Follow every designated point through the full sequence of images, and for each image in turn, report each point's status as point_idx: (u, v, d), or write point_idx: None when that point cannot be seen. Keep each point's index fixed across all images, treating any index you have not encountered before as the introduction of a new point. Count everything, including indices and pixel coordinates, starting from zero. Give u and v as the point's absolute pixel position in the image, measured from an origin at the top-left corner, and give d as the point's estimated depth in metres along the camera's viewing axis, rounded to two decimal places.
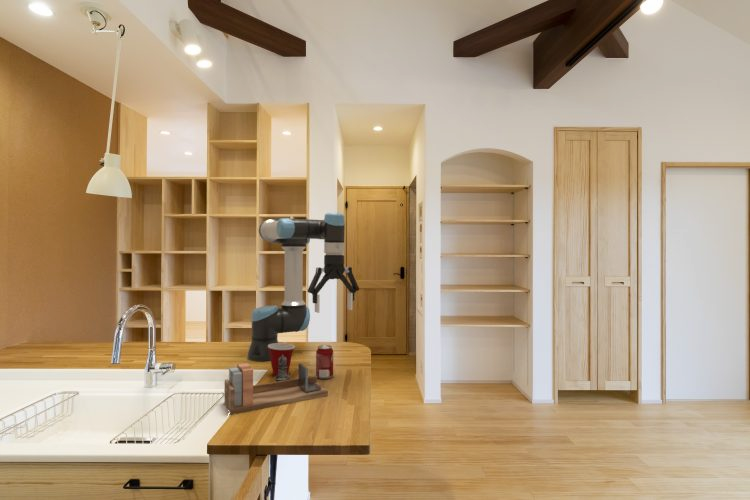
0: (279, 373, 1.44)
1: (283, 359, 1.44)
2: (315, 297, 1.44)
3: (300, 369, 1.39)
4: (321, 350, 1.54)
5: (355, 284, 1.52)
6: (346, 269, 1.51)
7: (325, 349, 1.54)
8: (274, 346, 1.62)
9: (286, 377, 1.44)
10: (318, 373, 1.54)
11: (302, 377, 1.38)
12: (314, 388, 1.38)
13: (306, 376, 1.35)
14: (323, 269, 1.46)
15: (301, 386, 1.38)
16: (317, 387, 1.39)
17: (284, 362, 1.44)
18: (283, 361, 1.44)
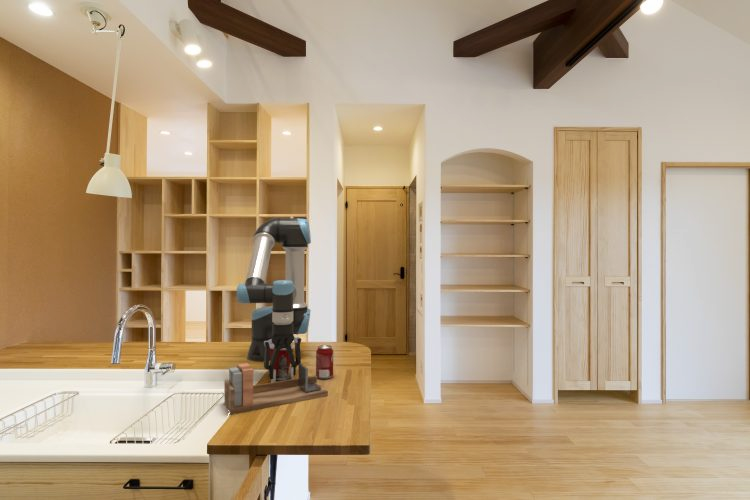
0: (279, 373, 1.44)
1: (283, 359, 1.44)
2: (271, 373, 1.43)
3: (300, 369, 1.39)
4: (321, 350, 1.54)
5: (298, 357, 1.47)
6: (295, 339, 1.47)
7: (325, 349, 1.54)
8: None
9: (286, 377, 1.44)
10: (318, 373, 1.54)
11: (302, 377, 1.38)
12: (314, 388, 1.38)
13: (306, 376, 1.35)
14: (270, 341, 1.43)
15: (301, 386, 1.38)
16: (317, 387, 1.39)
17: (284, 362, 1.44)
18: (283, 361, 1.44)
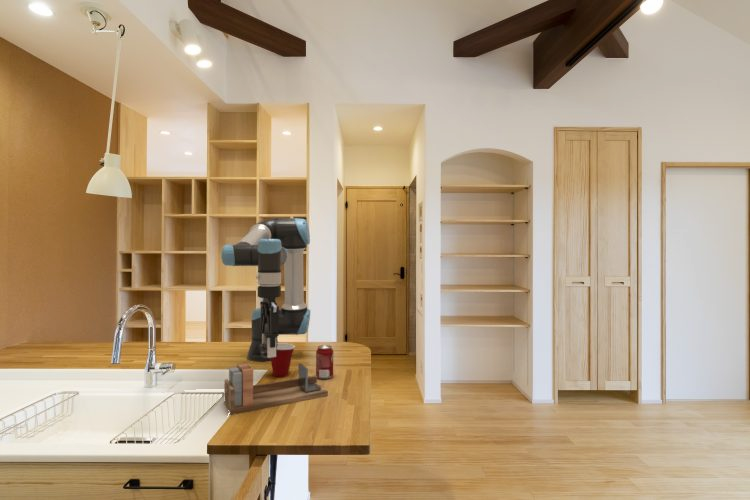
0: None
1: (265, 324, 1.32)
2: (263, 336, 1.35)
3: (300, 369, 1.39)
4: (321, 350, 1.54)
5: (270, 328, 1.27)
6: None
7: (325, 349, 1.54)
8: None
9: (263, 345, 1.30)
10: (318, 373, 1.54)
11: (302, 377, 1.38)
12: (314, 388, 1.38)
13: (306, 376, 1.35)
14: None
15: (301, 386, 1.38)
16: (317, 387, 1.39)
17: (265, 328, 1.31)
18: None
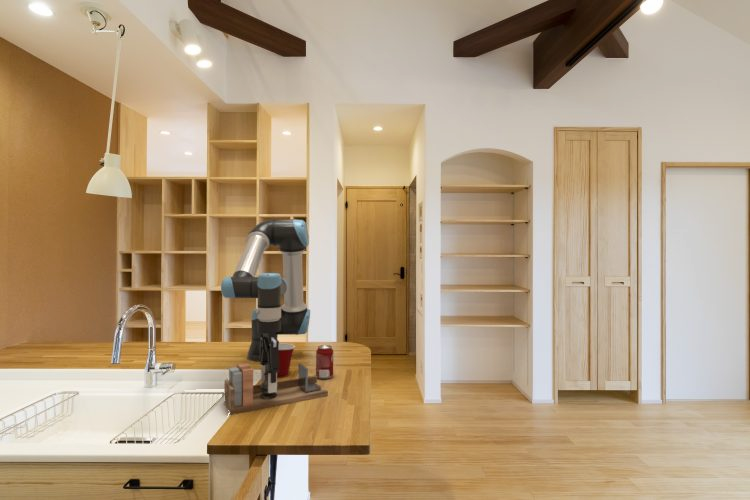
0: None
1: (265, 365, 1.31)
2: None
3: (300, 369, 1.39)
4: (321, 350, 1.54)
5: (271, 363, 1.26)
6: None
7: (325, 349, 1.54)
8: None
9: (263, 386, 1.30)
10: (318, 373, 1.54)
11: (302, 377, 1.38)
12: (314, 388, 1.38)
13: (306, 376, 1.35)
14: None
15: (301, 386, 1.38)
16: (317, 387, 1.39)
17: (265, 369, 1.30)
18: (265, 367, 1.31)
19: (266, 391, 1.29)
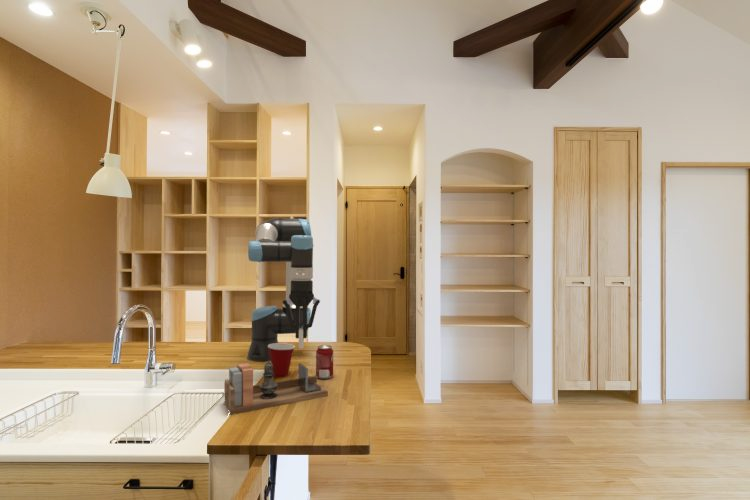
0: None
1: (265, 365, 1.32)
2: (297, 332, 1.37)
3: (300, 369, 1.39)
4: (321, 350, 1.54)
5: (311, 319, 1.37)
6: (314, 300, 1.38)
7: (325, 349, 1.54)
8: (274, 346, 1.62)
9: (263, 386, 1.30)
10: (318, 373, 1.54)
11: (302, 377, 1.38)
12: (314, 388, 1.38)
13: (306, 376, 1.35)
14: (288, 298, 1.37)
15: (301, 386, 1.38)
16: (317, 387, 1.39)
17: (265, 368, 1.31)
18: (264, 367, 1.32)
19: (266, 391, 1.30)
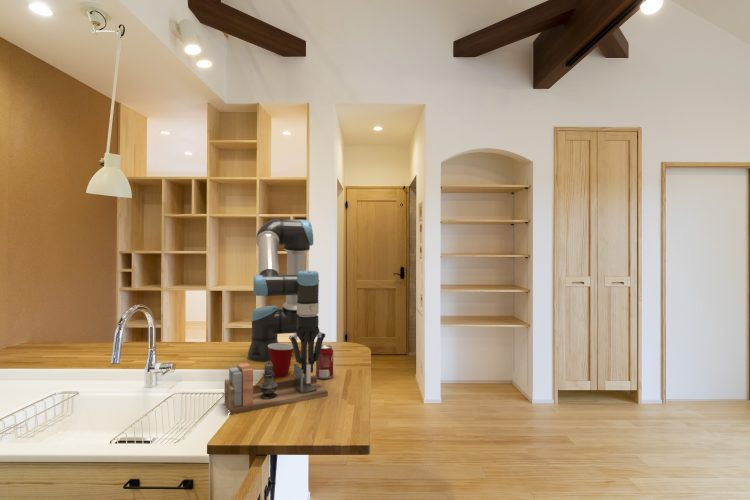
0: None
1: (265, 365, 1.32)
2: (304, 367, 1.38)
3: (295, 370, 1.38)
4: (321, 350, 1.54)
5: (317, 353, 1.40)
6: (319, 333, 1.41)
7: (325, 349, 1.54)
8: (274, 346, 1.62)
9: (263, 386, 1.30)
10: (318, 373, 1.54)
11: (297, 378, 1.37)
12: (309, 389, 1.37)
13: (301, 377, 1.34)
14: (296, 335, 1.36)
15: (296, 387, 1.38)
16: (312, 388, 1.38)
17: (265, 369, 1.31)
18: (264, 367, 1.31)
19: (266, 391, 1.30)
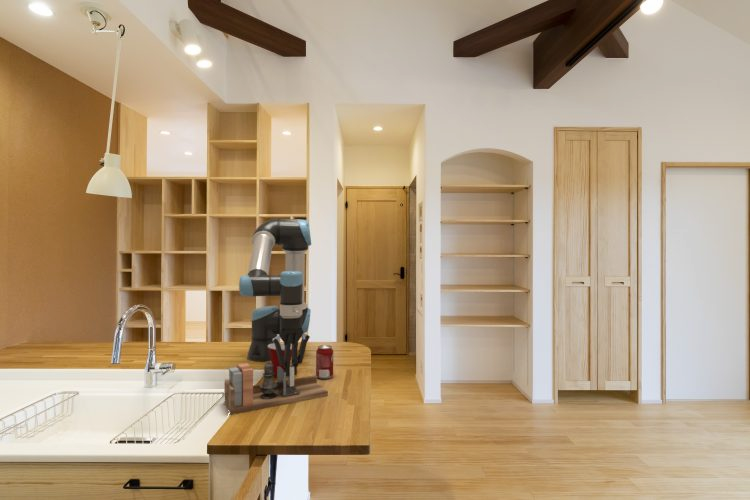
0: None
1: (265, 365, 1.32)
2: (288, 370, 1.35)
3: (279, 372, 1.35)
4: (321, 350, 1.54)
5: (301, 355, 1.37)
6: (304, 335, 1.38)
7: (325, 349, 1.54)
8: (274, 346, 1.62)
9: (263, 386, 1.30)
10: (318, 373, 1.54)
11: (280, 381, 1.34)
12: (293, 392, 1.34)
13: (284, 380, 1.31)
14: (279, 337, 1.33)
15: (279, 390, 1.34)
16: (296, 391, 1.35)
17: (265, 369, 1.31)
18: (264, 367, 1.31)
19: (266, 391, 1.30)
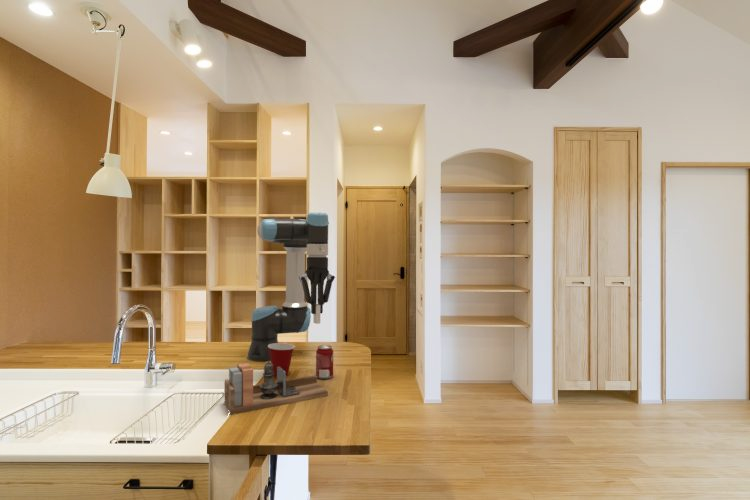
0: None
1: (265, 365, 1.32)
2: (314, 308, 1.40)
3: (278, 372, 1.35)
4: (321, 350, 1.54)
5: (327, 294, 1.42)
6: (329, 275, 1.43)
7: (325, 349, 1.54)
8: (274, 346, 1.62)
9: (263, 386, 1.30)
10: (318, 373, 1.54)
11: (280, 381, 1.34)
12: (293, 392, 1.34)
13: (284, 380, 1.31)
14: (306, 275, 1.38)
15: (279, 390, 1.34)
16: (296, 391, 1.35)
17: (265, 369, 1.31)
18: (264, 367, 1.31)
19: (266, 391, 1.30)
